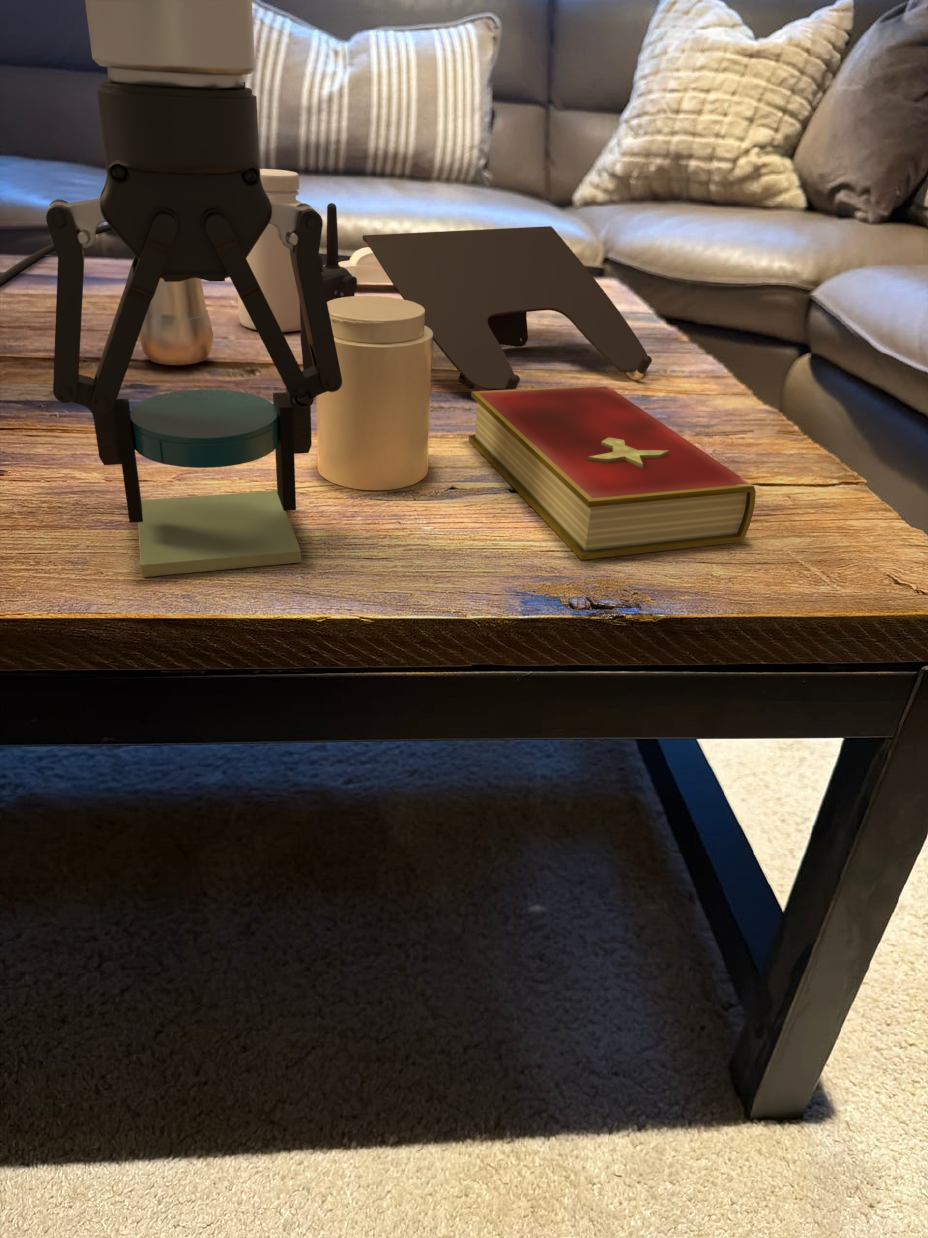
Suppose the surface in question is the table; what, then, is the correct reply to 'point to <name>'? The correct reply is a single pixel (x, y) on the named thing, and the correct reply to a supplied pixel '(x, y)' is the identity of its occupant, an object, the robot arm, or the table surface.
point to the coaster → (215, 533)
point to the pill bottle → (275, 257)
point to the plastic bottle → (177, 324)
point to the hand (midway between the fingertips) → (212, 506)
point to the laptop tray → (501, 296)
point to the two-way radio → (329, 278)
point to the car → (366, 268)
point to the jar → (377, 395)
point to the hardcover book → (609, 472)
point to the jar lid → (204, 428)
